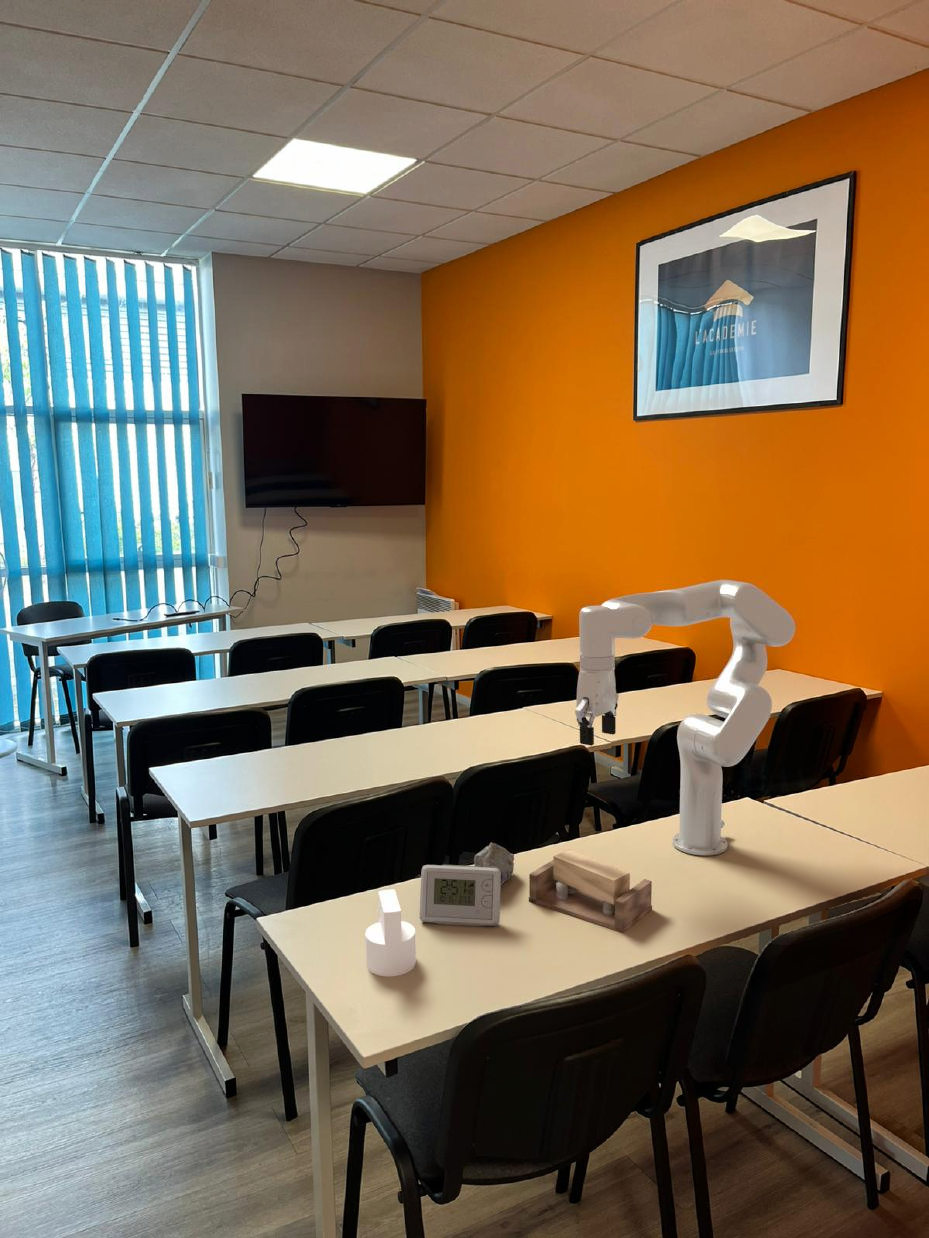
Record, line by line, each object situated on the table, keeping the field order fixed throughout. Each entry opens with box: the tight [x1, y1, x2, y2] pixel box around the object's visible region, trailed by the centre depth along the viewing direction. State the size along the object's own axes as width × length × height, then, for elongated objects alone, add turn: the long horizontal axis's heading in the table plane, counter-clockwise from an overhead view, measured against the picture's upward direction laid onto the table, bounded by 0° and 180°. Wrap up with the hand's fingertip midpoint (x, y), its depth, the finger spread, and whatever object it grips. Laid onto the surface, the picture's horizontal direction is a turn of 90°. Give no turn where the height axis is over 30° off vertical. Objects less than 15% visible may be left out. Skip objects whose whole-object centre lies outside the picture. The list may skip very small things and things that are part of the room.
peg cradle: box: [528, 859, 653, 933], centre depth 183 cm, size 12×22×6 cm, turn 51°
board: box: [552, 849, 631, 905], centre depth 183 cm, size 5×16×5 cm, turn 41°
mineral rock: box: [473, 842, 515, 886], centre depth 193 cm, size 13×11×10 cm
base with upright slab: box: [364, 889, 417, 977], centre depth 162 cm, size 9×9×12 cm
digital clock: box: [419, 864, 502, 927], centre depth 178 cm, size 16×9×11 cm, turn 70°
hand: (598, 738), depth 198 cm, fingers open, 9 cm apart
